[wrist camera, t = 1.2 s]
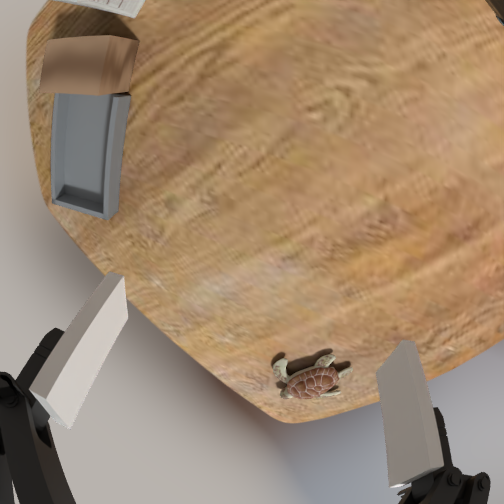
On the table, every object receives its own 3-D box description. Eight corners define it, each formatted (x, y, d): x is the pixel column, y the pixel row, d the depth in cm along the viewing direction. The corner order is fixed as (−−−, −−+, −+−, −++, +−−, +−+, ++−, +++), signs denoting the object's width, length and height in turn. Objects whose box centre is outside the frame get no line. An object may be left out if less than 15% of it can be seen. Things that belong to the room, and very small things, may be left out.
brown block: (80, 41, 27) (47, 39, 21) (139, 41, 27) (110, 35, 21) (71, 87, 30) (38, 92, 24) (128, 91, 31) (98, 95, 25)
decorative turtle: (250, 371, 57) (247, 391, 53) (312, 334, 49) (313, 356, 45) (308, 402, 62) (308, 420, 58) (367, 373, 54) (370, 392, 50)
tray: (68, 90, 31) (55, 92, 28) (131, 95, 31) (118, 97, 28) (63, 195, 40) (52, 203, 37) (118, 211, 40) (107, 220, 37)
